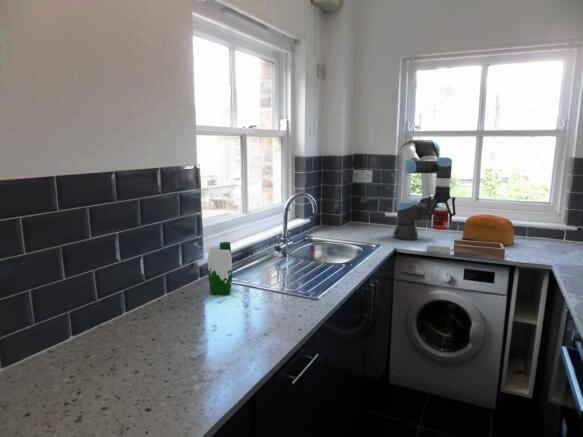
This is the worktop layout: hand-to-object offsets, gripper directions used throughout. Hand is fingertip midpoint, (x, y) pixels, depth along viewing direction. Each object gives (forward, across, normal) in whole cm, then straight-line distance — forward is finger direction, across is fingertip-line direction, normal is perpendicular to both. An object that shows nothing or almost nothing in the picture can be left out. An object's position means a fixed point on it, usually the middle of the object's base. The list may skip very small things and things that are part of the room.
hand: (439, 227), depth 226 cm
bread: (+13, +27, +34) cm, 46 cm away
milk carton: (+13, -79, -101) cm, 129 cm away
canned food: (+1, 0, 0) cm, 1 cm away
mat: (+13, 0, 0) cm, 13 cm away
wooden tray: (+13, +20, 0) cm, 24 cm away
